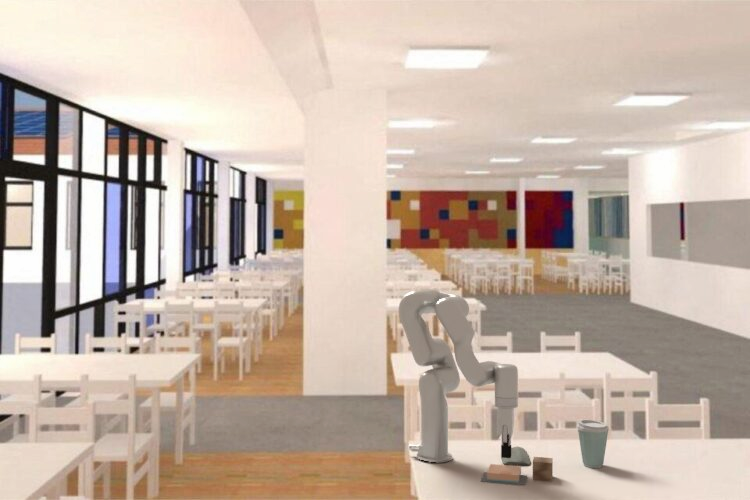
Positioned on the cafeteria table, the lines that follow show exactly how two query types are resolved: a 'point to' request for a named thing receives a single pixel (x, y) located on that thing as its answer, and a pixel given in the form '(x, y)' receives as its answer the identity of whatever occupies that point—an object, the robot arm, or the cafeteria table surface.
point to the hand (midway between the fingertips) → (506, 457)
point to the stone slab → (517, 457)
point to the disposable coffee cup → (592, 442)
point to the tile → (504, 473)
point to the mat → (521, 482)
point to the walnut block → (542, 469)
